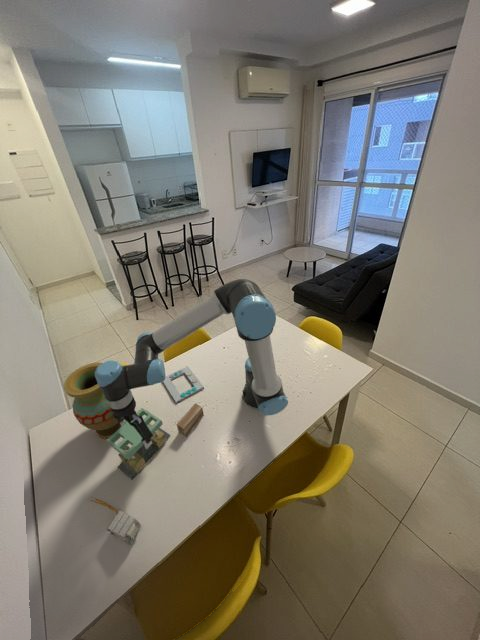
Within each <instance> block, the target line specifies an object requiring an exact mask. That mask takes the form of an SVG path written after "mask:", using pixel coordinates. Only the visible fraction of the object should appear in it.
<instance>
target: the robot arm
mask: <svg viewBox="0 0 480 640" xmlns="http://www.w3.org/2000/svg"><path fill="white" fill-rule="evenodd" d="M212 292H213V293H212V295H211V296H209V297H207V298H205V300H202V301H201V302H200V303H198V304H197V305H195V306H193V307H191V308H190V309H188V310H187V311H186V312H184V313H182V314H180V315H179V316H177V317H176V318H174V319H173V320H171V321H169V322H168V323H166V324H165V325H163V326H161V327H160V328H158V329H157V330H155V331H153V332H149V331H148V332H142V333H140V335H138V337H137V339H136V343H135V353H134V354H135V355H134V360H133V361H134V362H133V363H132V364H128V365H123V366H122V364H121V363H120V362H119V361H118V360H107V361H104V362H101V363H102V364H101V365H99V366H98V367H97V369H96V371H95V377H96V380H97V383H98V385H99V386H100V388H101V390H102V392H103V394H104V396H105V399H106V401H107V403H108V405H109V407H110V408H111V410H112V412H113V414H114V418H115V419H117V418H118V422H120V424H121V426H123V425H124V424H125V423H126V422H128V423H129V424H130V425H131V426H133V427H134V428H135V429H136V431H137V432H138V433H139V434H140V436H141V437H142V438H141V439H142V440H141V441H142V442H143V444H144V446H145V448H146V449H148V447H149V446H150V445H151V444H152V441H151V437H152V436H153V434H152V433H151V431H150V430H149V428H148V427H147V425H146V423H145V422H144V418H143V416H139V417H138V415H137V414H136V413H137V411H136V407H137V406H136V405H137V402H136V400H135V397H134V395H133V393H132V391H131V390H134V389H137V388H139V389H140V388H143V387H148V386H154V385H156V384H160V383H163V381H164V380H165V377H166V369H165V364H164V361H163V360H162V359H159V354H161V353H162V352H164V351H166V350H167V349H169V348H171V347H172V346H174V345H175V344H177V343H179V342H180V341H182V340H184V339H185V338H187V337H189V336H190V335H192V334H194V333H195V332H197V331H199V330H200V329H202V328H203V327H205V326H207V325H208V324H209V323H212V322H213V321H214V320H216V319H218V318H219V317H221V316H223V315H230V314H232V318H233V320H234V323H235V327H236V331H237V332H236V333H237V335H238V337H239V338H240V339H241V340H242V341H244V344H245V348H246V352H247V356H248V358H247V359H246V360H245V363H244V364H245V365H244V370H245V371H244V373H245V385H244V387H243V388H242V399H243V401H244V402H245V404H246V405H247V406H249V407H250V408H252V409H258V410H259V412H260V414H262V415H263V416H273V415H274V416H275V415H276V414H279V413H281V412H283V410H285V409H286V408H287V406H288V404H289V400H288V397H287V395H286V394H285V392H284V388H283V381H282V379H281V378H282V377H280V376H279V375H278V374H277V370H276V362H275V358H274V353H273V345H272V339H271V335H272V334H273V332H274V328H275V326H276V322H277V315H276V311H275V309H274V307H273V304H272V302H271V301H270V300H268V299H267V297H266V295H265V294H264V292H263V291H262V290H261V288H260V286H258V284H257V283H256V282H254V281H253V280H251V279H246V278H239V279H235V280H231V281H228V282H227V283H225V284H223V285H221V286H219V287H218V288H216V289H215V290H213V291H212ZM133 420H134V421H133ZM131 421H133V422H132V423H131Z"/></svg>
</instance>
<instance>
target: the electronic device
mask: <svg viewBox="0 0 480 640" xmlns="http://www.w3.org/2000/svg"><path fill="white" fill-rule="evenodd" d="M183 375H185V377H186V378H187V380H188V382H190V383H191V385H192V386H193V387H190V388H189V389H187V390H185V391H183V392H181V393H180V392H179V390H178V389H177V388H176V386H175V384H174V383H173V382H172V381H173V380H175V379H177V378H179V377H181V376H183ZM162 383H163V384H164V386H165V388H166V389H167V391H168V392H169V394H170V396H171V397H172V399H173V401H175V404H178V403H180V402H182V401H183V400H186V399H187V398H189V397H191V396H193V395H195V394H197V393H198V392H200V391H202V390H203V389H205V386H204V385H203V384H202V383H201V381H200V380H199V379H198V378H197V376H196V375H195V373H193V371H192V370H191V368H190V366H188V365H187V366H185V367H182V368H180V369H179V370H176V371H175V372H173V373H169V375H165V380H164V381H163V382H162Z"/></svg>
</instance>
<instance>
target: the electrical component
mask: <svg viewBox="0 0 480 640" xmlns="http://www.w3.org/2000/svg"><path fill="white" fill-rule="evenodd" d="M85 500H87V501H90V502H93V503H95V504H98V505H101V506H104V507H106V508H108V509H110V510H112V511H114V512H115V513H116V515H115V517H114V518H113V520H112V522H111V523H110V524H109V526H108V527H107V528H106V532H109V533H110V535H111V536H114V535H115V536H116V537H118V538H120V539H121V540H123V541H124V542H127V545H129V546H131V545H132V544H133V541H134V538H135V536H136V535H137V533H138V531H139V530H140V529H141V527H142V524H141V523H140V522H139V520H137V519H136V518H135V517H134V516H132V515H130V514H128V513H126V512H124V511H122V510H119V511H118V510H117V509H116V508H114V507H112V506H111V505H109V504H108V503H106V502H103V501H101V500H100V499H97V498H95V497H92V496H90V498H87V497H86V498H85Z"/></svg>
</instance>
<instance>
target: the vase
mask: <svg viewBox="0 0 480 640" xmlns="http://www.w3.org/2000/svg"><path fill="white" fill-rule="evenodd" d="M102 363H103V362H100V361H99V362H93V363H87V364H85V365H82V366H81V367H79V368H76V369H75V370H74V371H73V372H71V373H70V374H69V375H68V376H67V378H66V379H65V380H64V383H63V390H64V392H65V393H66V394H67V396H69V397H71V398H73V401H72V412H73V416H74V417H75V419H76V420H77V422H79V425H82V427H85V428H87V429H89V430H93V431H95V433H96V434H97V436H98V438H101V439H102V440H103V439H104V440H107V439H109V438H110V437H111V436H112V435H113V434H114V433H115V432H116V431H117V430H118V429H119V428H120V427H122V426H121V424H120V422H118V418H117V419H115V418H114V414H113V412H112V410H111V408H110V407H109V405H108V403H107V401H106V399H105V396H104V394H103V392H102V390H101V388H100V386H99V385H98V383H97V380H96V377H95V371H96V369H97V367H98V366H99V365H101V364H102Z"/></svg>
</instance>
